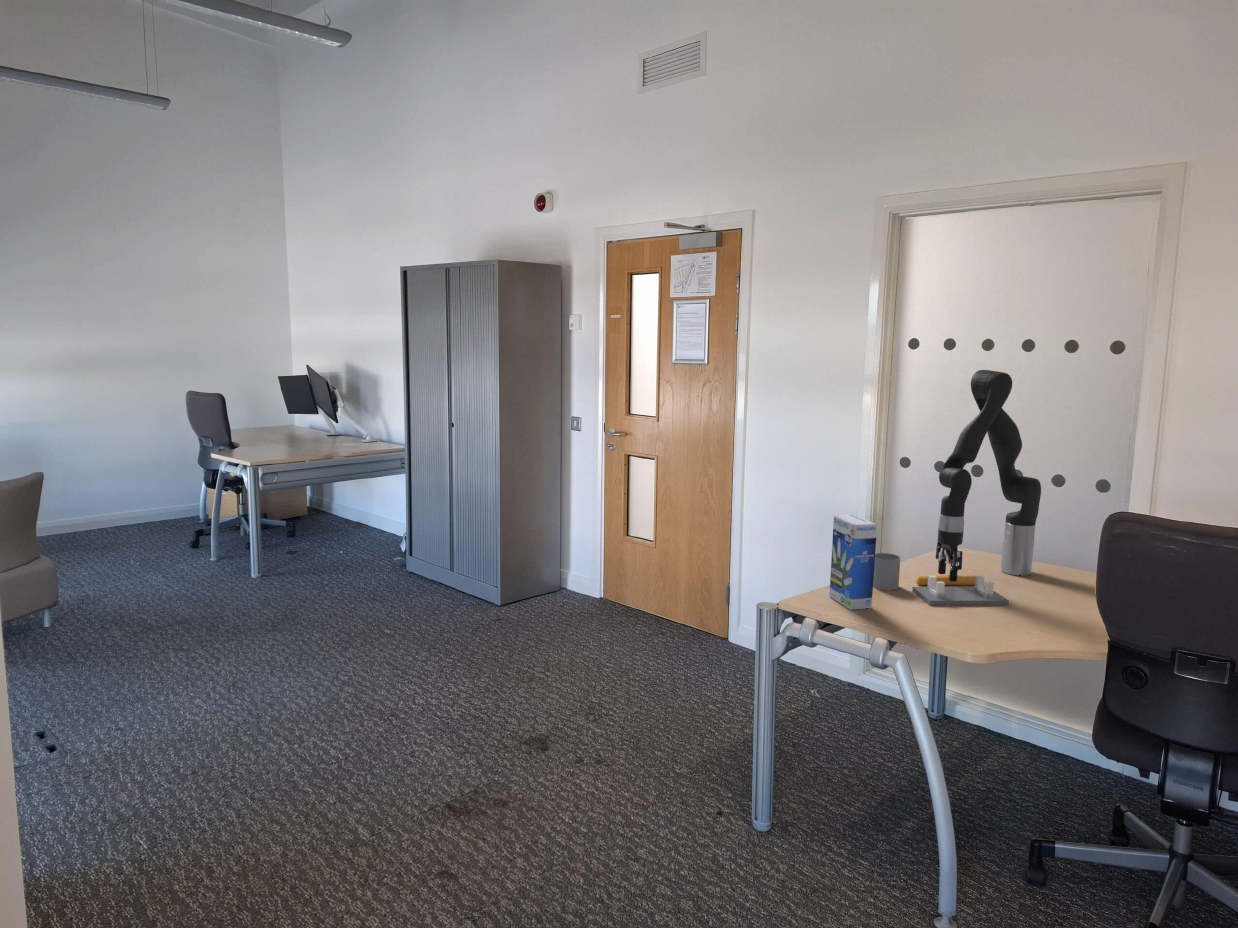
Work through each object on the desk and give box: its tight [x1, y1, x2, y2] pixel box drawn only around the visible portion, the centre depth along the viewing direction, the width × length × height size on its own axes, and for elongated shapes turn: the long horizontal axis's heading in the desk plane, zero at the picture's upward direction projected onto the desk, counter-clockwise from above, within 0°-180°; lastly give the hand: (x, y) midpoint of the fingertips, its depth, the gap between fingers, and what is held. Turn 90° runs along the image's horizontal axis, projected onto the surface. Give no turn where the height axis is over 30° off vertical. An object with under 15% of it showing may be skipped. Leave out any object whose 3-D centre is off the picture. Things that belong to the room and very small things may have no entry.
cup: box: [873, 552, 901, 592], centre depth 267 cm, size 8×8×10 cm
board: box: [911, 575, 1010, 607], centre depth 256 cm, size 14×24×6 cm, turn 92°
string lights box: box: [829, 514, 878, 611], centre depth 249 cm, size 13×8×26 cm, turn 14°
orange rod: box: [915, 575, 977, 586], centre depth 270 cm, size 21×3×3 cm, turn 92°
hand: (947, 577), depth 269 cm, fingers open, 8 cm apart
